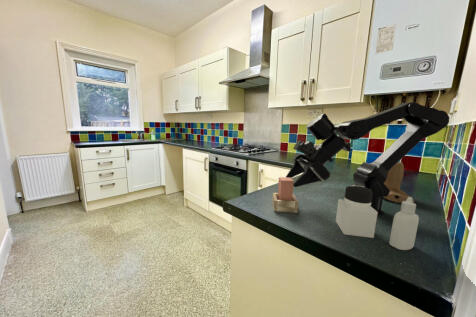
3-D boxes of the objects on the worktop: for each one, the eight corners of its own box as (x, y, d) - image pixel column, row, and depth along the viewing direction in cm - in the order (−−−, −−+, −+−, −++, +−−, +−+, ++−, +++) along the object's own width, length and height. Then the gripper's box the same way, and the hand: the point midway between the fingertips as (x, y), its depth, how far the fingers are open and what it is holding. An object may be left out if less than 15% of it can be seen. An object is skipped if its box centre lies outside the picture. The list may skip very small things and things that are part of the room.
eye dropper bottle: (382, 238, 48) (390, 193, 46) (408, 241, 47) (417, 195, 45) (393, 249, 43) (402, 199, 41) (421, 253, 42) (432, 202, 40)
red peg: (288, 204, 67) (290, 177, 66) (291, 209, 63) (293, 180, 62) (277, 204, 67) (278, 177, 66) (279, 209, 63) (281, 180, 62)
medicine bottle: (374, 238, 48) (381, 193, 46) (343, 234, 49) (349, 190, 47) (362, 224, 54) (367, 184, 53) (335, 221, 56) (340, 182, 54)
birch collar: (293, 203, 69) (294, 194, 68) (297, 212, 61) (298, 202, 60) (272, 202, 69) (272, 192, 69) (273, 210, 62) (274, 200, 61)
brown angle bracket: (368, 189, 88) (373, 157, 85) (401, 194, 83) (407, 160, 80) (374, 200, 74) (380, 162, 72) (414, 206, 69) (421, 166, 67)
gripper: (301, 131, 70) (269, 159, 72) (323, 133, 52) (280, 171, 54) (320, 153, 72) (288, 180, 73) (348, 162, 53) (305, 198, 55)
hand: (290, 181), depth 64 cm, fingers open, 9 cm apart
